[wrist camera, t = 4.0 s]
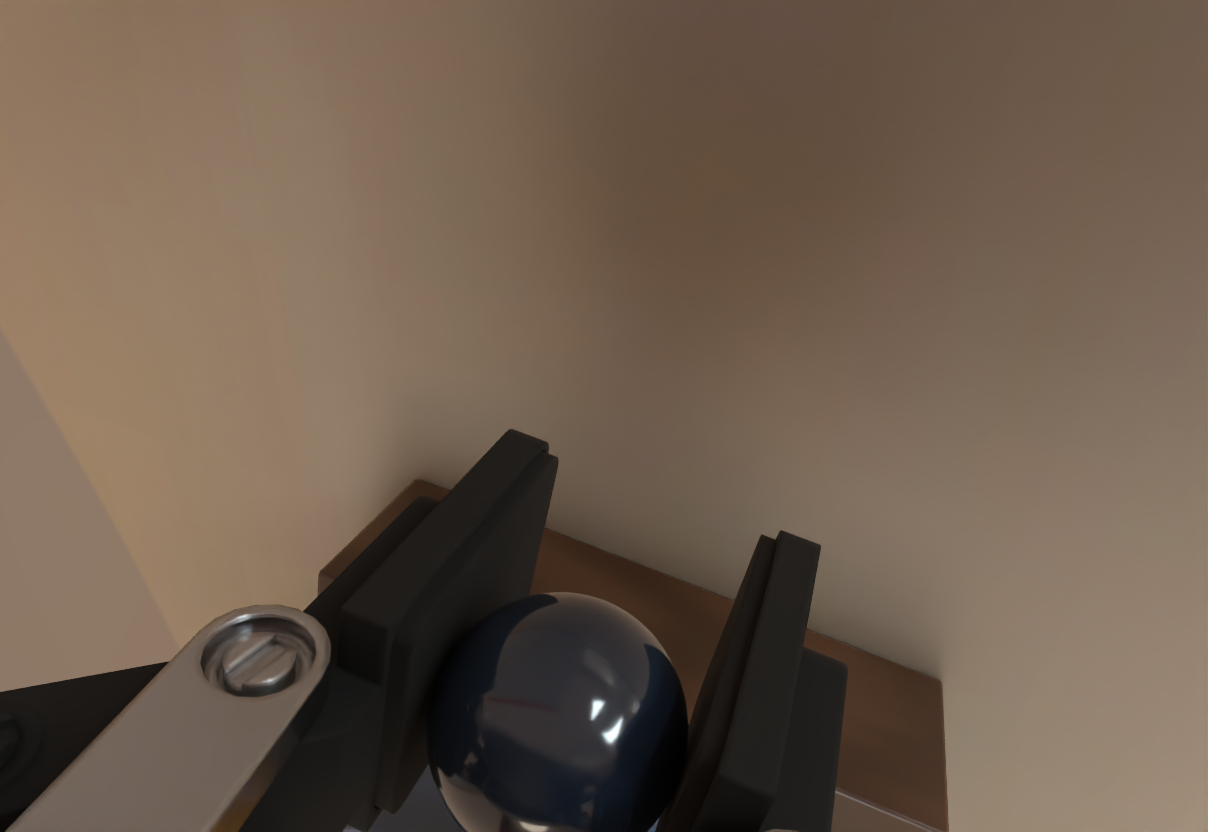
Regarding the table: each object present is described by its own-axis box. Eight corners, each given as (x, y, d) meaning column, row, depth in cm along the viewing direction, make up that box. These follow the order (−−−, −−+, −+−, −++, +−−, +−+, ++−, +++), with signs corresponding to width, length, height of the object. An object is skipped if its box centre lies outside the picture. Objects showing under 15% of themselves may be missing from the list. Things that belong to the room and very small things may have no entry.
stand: (943, 680, 18) (951, 837, 15) (777, 959, 24) (755, 1117, 21) (415, 476, 20) (316, 572, 17) (382, 776, 26) (303, 891, 23)
